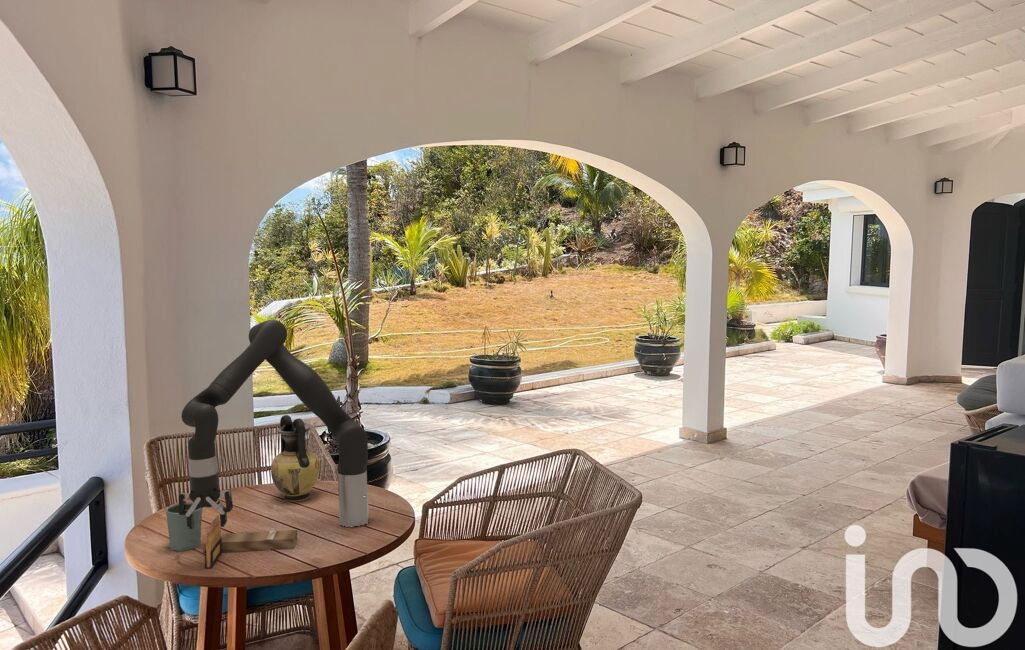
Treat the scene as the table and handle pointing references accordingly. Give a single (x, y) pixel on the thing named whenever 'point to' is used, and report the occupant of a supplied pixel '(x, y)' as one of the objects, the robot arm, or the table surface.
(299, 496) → the amphora
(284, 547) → the plank
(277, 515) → the table surface
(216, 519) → the ammunition clip
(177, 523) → the grey-green cup
